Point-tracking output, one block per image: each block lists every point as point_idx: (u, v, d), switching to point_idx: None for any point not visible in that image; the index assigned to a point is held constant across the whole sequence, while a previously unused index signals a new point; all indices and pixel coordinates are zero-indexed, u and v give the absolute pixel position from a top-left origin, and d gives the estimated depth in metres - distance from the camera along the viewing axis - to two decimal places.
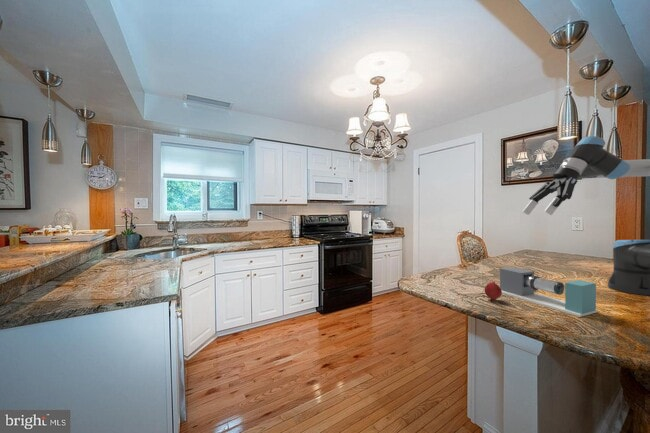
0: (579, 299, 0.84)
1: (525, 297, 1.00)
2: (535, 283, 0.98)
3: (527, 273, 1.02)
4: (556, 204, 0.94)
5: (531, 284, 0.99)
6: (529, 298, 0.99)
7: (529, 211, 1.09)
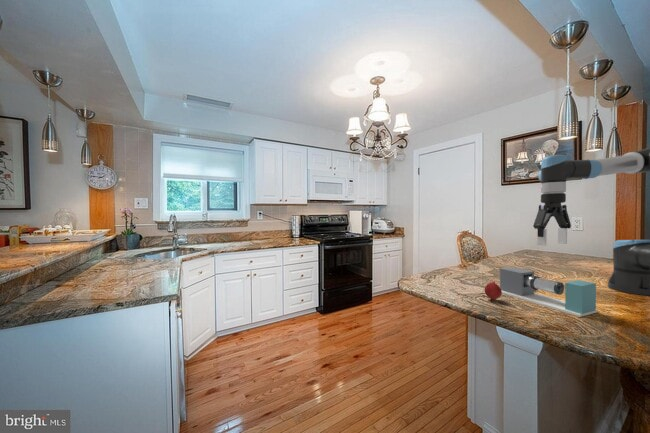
0: (579, 299, 0.84)
1: (525, 297, 1.00)
2: (535, 283, 0.98)
3: (527, 273, 1.02)
4: (538, 235, 0.98)
5: (531, 284, 0.99)
6: (529, 298, 0.99)
7: (563, 240, 1.02)
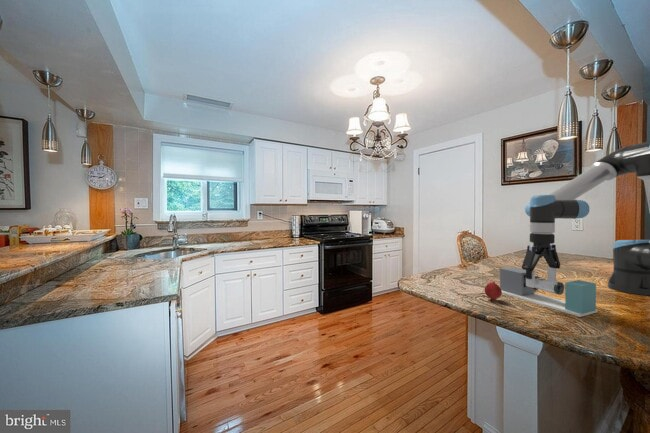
0: (579, 299, 0.84)
1: (525, 297, 1.00)
2: (535, 283, 0.98)
3: None
4: (527, 277, 0.95)
5: None
6: (529, 298, 0.99)
7: (553, 280, 0.99)
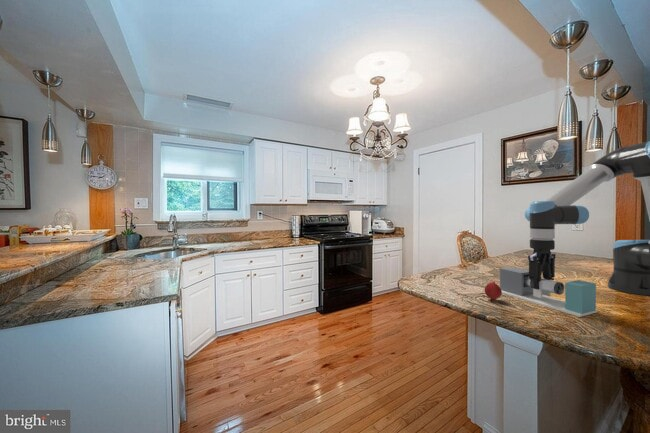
0: (579, 299, 0.84)
1: (525, 297, 1.00)
2: None
3: (527, 273, 1.02)
4: (534, 287, 0.97)
5: (531, 284, 0.99)
6: (529, 298, 0.99)
7: (547, 292, 0.98)
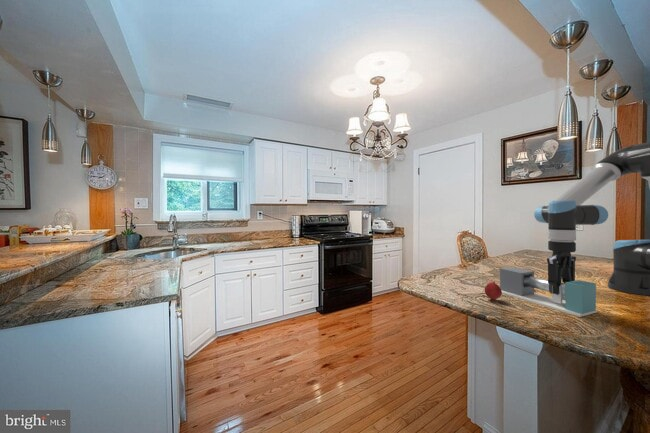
0: (579, 299, 0.84)
1: (525, 297, 1.00)
2: None
3: (527, 273, 1.02)
4: (554, 292, 0.91)
5: (550, 289, 0.93)
6: (529, 298, 0.99)
7: None
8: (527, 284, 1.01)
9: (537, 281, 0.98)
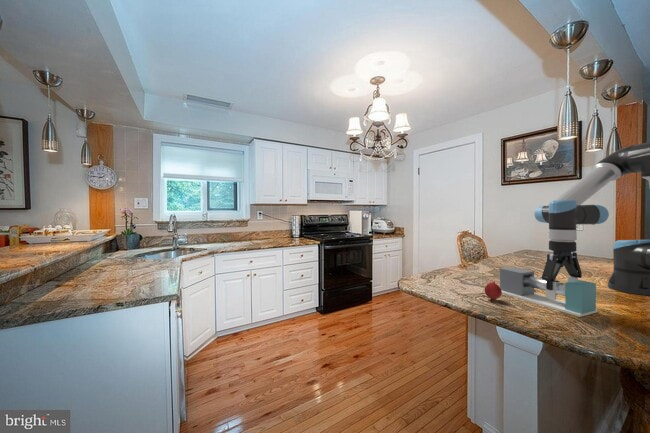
0: (579, 299, 0.84)
1: (525, 297, 1.00)
2: None
3: (527, 273, 1.02)
4: (547, 288, 0.89)
5: None
6: (529, 298, 0.99)
7: None
8: (527, 284, 1.01)
9: (538, 281, 0.98)
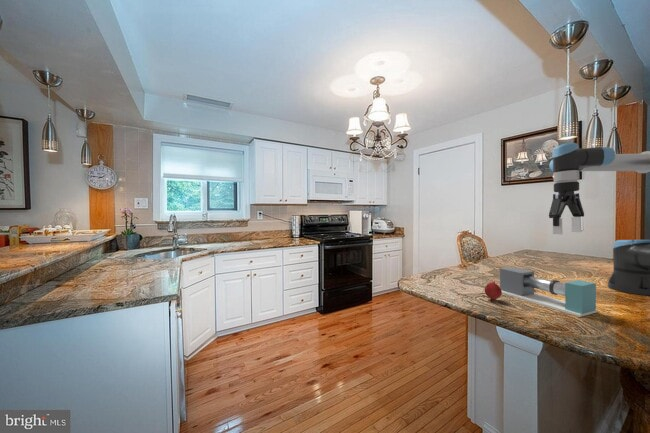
0: (579, 299, 0.84)
1: (525, 297, 1.00)
2: (555, 288, 0.92)
3: (527, 273, 1.02)
4: (554, 224, 0.97)
5: (550, 289, 0.93)
6: (529, 298, 0.99)
7: (578, 228, 1.02)
8: (527, 284, 1.01)
9: (538, 281, 0.98)
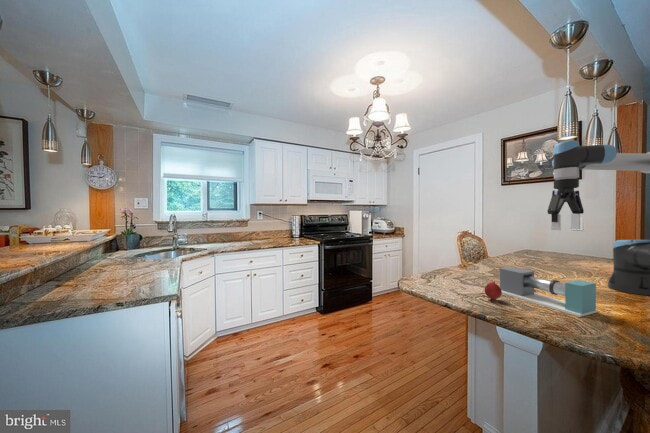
0: (579, 299, 0.84)
1: (525, 297, 1.00)
2: (555, 288, 0.92)
3: (527, 273, 1.02)
4: (553, 220, 0.99)
5: (550, 289, 0.93)
6: (529, 298, 0.99)
7: (577, 225, 1.03)
8: (527, 284, 1.01)
9: (538, 281, 0.98)
